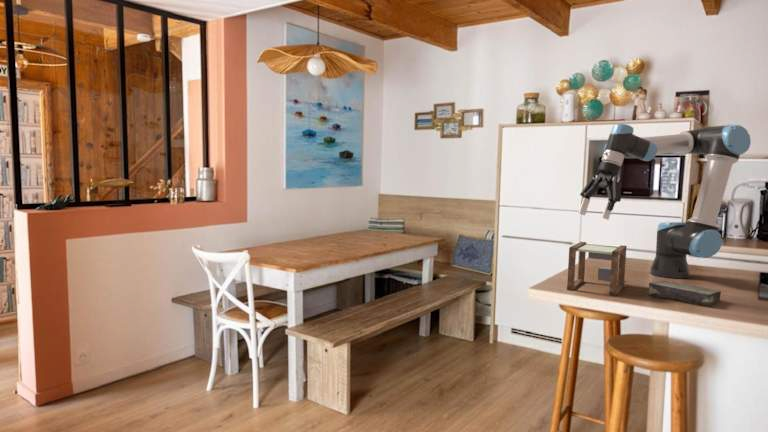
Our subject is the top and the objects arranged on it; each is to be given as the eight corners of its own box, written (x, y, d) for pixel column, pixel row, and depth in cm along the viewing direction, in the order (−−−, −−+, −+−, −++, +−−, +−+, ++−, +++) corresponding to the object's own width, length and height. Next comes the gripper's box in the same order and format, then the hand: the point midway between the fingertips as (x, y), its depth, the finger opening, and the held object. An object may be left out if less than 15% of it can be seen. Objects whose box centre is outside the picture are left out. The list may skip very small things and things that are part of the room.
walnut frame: (623, 286, 204) (626, 245, 202) (615, 296, 188) (618, 252, 186) (578, 280, 213) (580, 241, 211) (567, 289, 197) (569, 247, 195)
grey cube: (613, 279, 217) (613, 267, 216) (610, 281, 213) (611, 269, 212) (600, 278, 220) (601, 266, 219) (597, 280, 215) (598, 268, 215)
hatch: (620, 258, 208) (621, 244, 207) (611, 267, 190) (612, 251, 190) (588, 255, 214) (589, 242, 214) (576, 263, 197) (577, 248, 196)
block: (708, 308, 175) (709, 293, 175) (647, 296, 190) (648, 282, 189) (721, 302, 184) (722, 288, 184) (662, 291, 199) (663, 278, 199)
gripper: (582, 160, 213) (565, 209, 213) (626, 161, 189) (607, 217, 189) (596, 166, 215) (580, 215, 215) (642, 168, 191) (623, 223, 192)
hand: (592, 216), depth 202 cm, fingers open, 13 cm apart
